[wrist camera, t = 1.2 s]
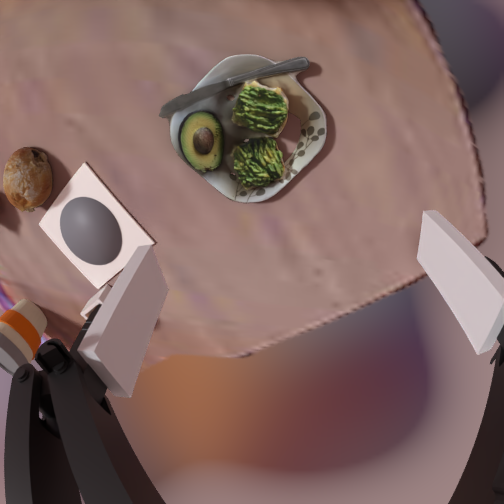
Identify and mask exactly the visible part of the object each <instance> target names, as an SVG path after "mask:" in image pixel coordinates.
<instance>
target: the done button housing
mask: <svg viewBox="0 0 504 504" xmlns="http://www.w3.org/2000/svg"><path fill="white" fill-rule="evenodd" d="M111 289H112V288H111V287H110V286H109V285H108V284H107V285H106V286H105V287H104V288H102V289H101V290H100V291H99V292H98V293H97V294H95V295H94V296H93V297H92V298H91V299H90V300H89V301H88V302H87V304H86V305H85V307H84V308H83V310H82V312H81V313H80V314H81V315H82V316H83V317H84V318H85V319H86V320H87V318H88V317H89V315H90V313H91V312H92V311H93V309H94V307H96V306H98V305H101V304H103V302H104V300H105V299H106V297H107V295H108V294H109V292H110V290H111Z"/></svg>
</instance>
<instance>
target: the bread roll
mask: <svg viewBox="0 0 504 504" xmlns="http://www.w3.org/2000/svg"><path fill="white" fill-rule="evenodd" d="M47 158H48V157H47V156H46V154H45V153H43V152H41V153H40V152H39V151H37V150H35V149H32V148H29V147H24V148H21V149H19V150H17V151H16V152H14V153H13V154H12V156H11V157H10V158H9V160H8V162H7V164H6V166H5V170H4V176H3V186H4V191H5V194H6V196H7V198H8V200H9V202H10V203H11V204H12V205H13V206H14V207H16V208H18V209H19V210H21V211H22V212H23V211H25V210H26V211H27V212H33V211H35V210H34V208H35V207H38V206H40V205H42V204H43V203H44V202H45V201H46V199H48V197H49V195H50V193H51V190H52V182H53V180H52V172H51V167H50V165H49V163H48V161H47Z"/></svg>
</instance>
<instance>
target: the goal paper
mask: <svg viewBox="0 0 504 504" xmlns="http://www.w3.org/2000/svg"><path fill="white" fill-rule="evenodd" d="M39 225H40V227H41V228H42V229H43V230H44V231H45V233H46V234H47V235H48V236H49V237H50V238H51V240H52V241H53V242H54V243H55V244H56V245H57V247H58V248H59V249H60V250H61V251H62V252H63V253H64V254H65V255H66V257H67V258H68V259H69V260H70V261H71V262H72V263H73V264H74V265H75V266H76V267H77V268H78V269H79V270H80V272H81V273H82V274H83V275H84V276H85V277H86V278H87V279H88V280H89V281H90V282H91V283H92V284H93V285H94V286H95V287H96V288H97V289H99V288H100V287H101V286H102V285H103V284H105V283H106V282H107V281H108V280H109V279H111V278H112V277H113V276H114V275H115V274H117V273H118V272H119V271H120V270H121V269H123V268H124V267H125V266H126V264H127V263H128V261H129V260H130V258H131V257H132V255H133V253H134V252H135V250H136V249H137V247H138V246H144V245H151V244H152V245H153V244H154V243H155V242H154V241H153V239H152V238H151V237H150V236H149V235H148V234H147V233H146V232H145V231H144V230H143V228H142V227H141V226H140V225H139V224H138V223H137V222H136V221H135V220H134V218H133V217H132V216H131V215H130V214H129V213H128V212H127V211H126V209H125V208H124V207H123V206H122V205H121V204H120V203H119V201H118V200H117V199H116V198H115V197H114V196H113V194H112V193H111V192H110V191H109V190H108V189H107V187H106V186H105V185H104V184H103V183H102V181H101V180H100V179H99V178H98V177H97V175H96V174H95V173H94V172H93V171H92V169H91V168H90V167H89V166H88V164H87V163H86V162H84V163H83V165H82V166H81V167H80V168H79V169H78V171H77V172H76V173H75V174H74V176H73V177H72V178H71V180H70V181H69V182H68V183H67V185H66V186H65V187H64V189H63V190H62V191H61V193H60V194H59V196H58V197H57V198H56V200H55V201H54V202H53V204H52V205H51V207H50V208H49V210H48V211H47V213H46V214H45V216H44V217H43V219H42V220H41V222H40V223H39Z"/></svg>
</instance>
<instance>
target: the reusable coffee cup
mask: <svg viewBox="0 0 504 504" xmlns="http://www.w3.org/2000/svg"><path fill="white" fill-rule="evenodd" d="M46 326H47V320H46V317H45V315H44V314H43V312H42V311H41V310H40V308H39V307H38V306H37V305H35V304H34V303H33V302H31V301H29V300H27V299H22V300H20V301H19V302H18V303H17V304H16V305H15V306H14V307H13V308H12V309H10V310H7V311H6V312H5V313H4V314H3V315H2V316H1V317H0V367H1V368H2V369H4V370H5V371H6V372H7V373H9V374H11V375H12V376H13V375H14V373H15V372H16V370H17V369H18V368H19V367H20V366H21V365H23V364H27V363H31V360H33V359H34V358H35V354H36V352H37V350H38V348H39V346H40V343H41V337H42V335H43V333H44V331H45V328H46Z"/></svg>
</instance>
